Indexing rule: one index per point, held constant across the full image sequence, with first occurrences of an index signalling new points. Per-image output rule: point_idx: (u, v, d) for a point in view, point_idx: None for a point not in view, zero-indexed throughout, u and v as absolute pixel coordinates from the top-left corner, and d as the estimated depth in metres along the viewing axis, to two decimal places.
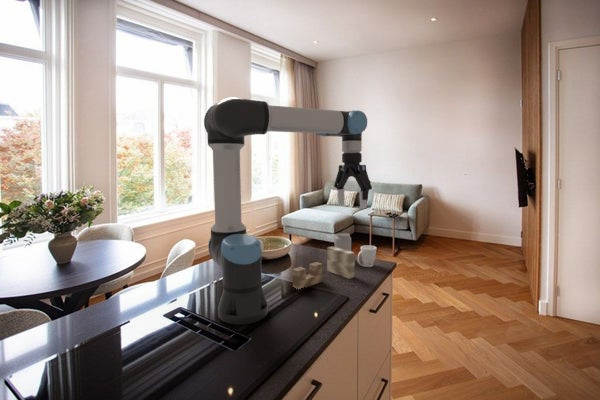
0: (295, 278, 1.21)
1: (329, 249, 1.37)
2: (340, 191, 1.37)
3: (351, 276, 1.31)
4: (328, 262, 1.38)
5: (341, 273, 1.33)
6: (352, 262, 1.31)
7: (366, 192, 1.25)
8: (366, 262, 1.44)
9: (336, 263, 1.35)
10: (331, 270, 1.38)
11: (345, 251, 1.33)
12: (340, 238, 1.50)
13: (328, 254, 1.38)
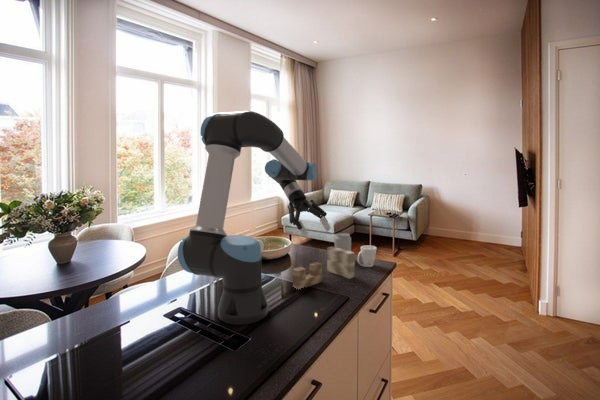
0: (295, 278, 1.21)
1: (329, 249, 1.37)
2: None
3: (351, 276, 1.31)
4: (328, 262, 1.38)
5: (341, 273, 1.33)
6: (352, 262, 1.31)
7: None
8: (366, 262, 1.44)
9: (336, 263, 1.35)
10: (331, 270, 1.38)
11: (345, 251, 1.33)
12: (340, 238, 1.50)
13: (328, 254, 1.38)
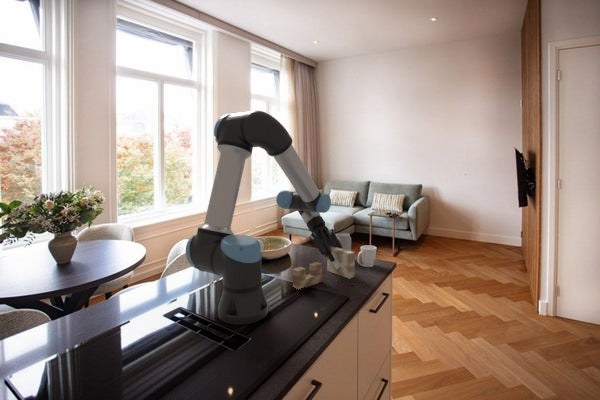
0: (295, 278, 1.21)
1: None
2: None
3: (351, 276, 1.31)
4: (328, 262, 1.38)
5: (341, 273, 1.33)
6: (352, 262, 1.31)
7: None
8: (366, 262, 1.44)
9: None
10: (331, 270, 1.37)
11: (345, 251, 1.32)
12: (340, 238, 1.50)
13: None
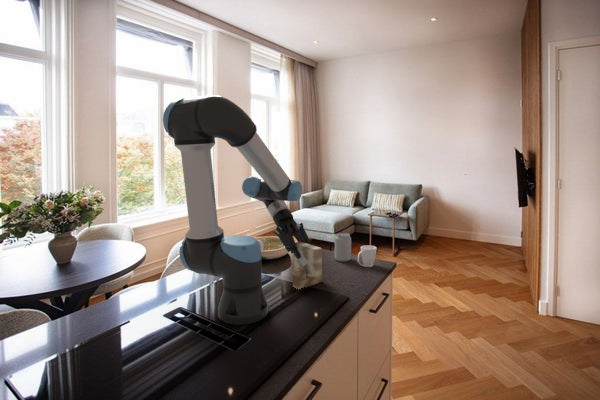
0: (295, 278, 1.21)
1: None
2: None
3: (318, 274, 1.20)
4: (295, 259, 1.27)
5: (308, 271, 1.22)
6: (319, 259, 1.19)
7: None
8: (366, 262, 1.44)
9: None
10: None
11: (312, 247, 1.21)
12: (340, 238, 1.50)
13: None
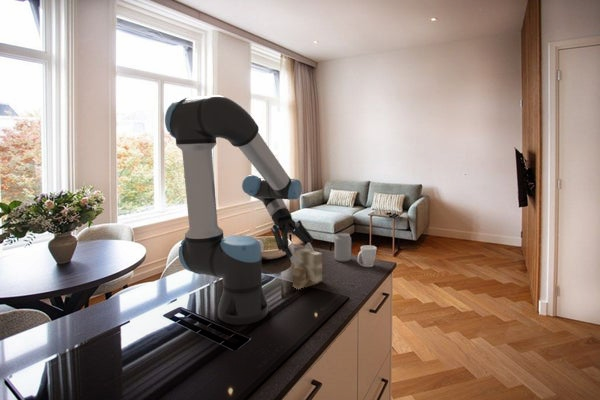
0: (295, 278, 1.21)
1: (296, 250, 1.26)
2: None
3: (318, 279, 1.20)
4: None
5: (308, 276, 1.22)
6: (319, 264, 1.19)
7: None
8: (366, 262, 1.44)
9: (303, 265, 1.23)
10: None
11: (312, 252, 1.21)
12: (340, 238, 1.50)
13: None
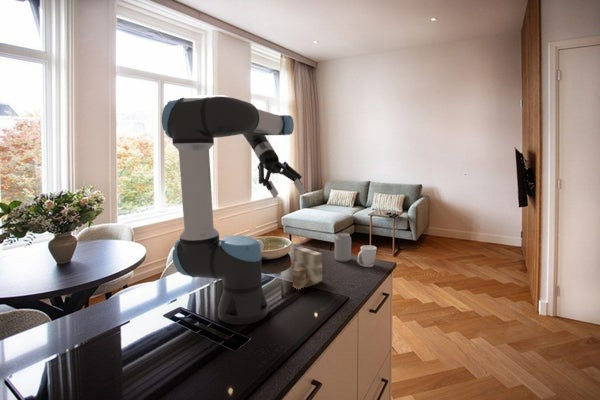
0: (295, 278, 1.21)
1: (296, 250, 1.26)
2: None
3: (318, 279, 1.20)
4: (295, 264, 1.27)
5: (308, 276, 1.22)
6: (319, 264, 1.19)
7: None
8: (366, 262, 1.44)
9: (303, 265, 1.23)
10: None
11: (312, 252, 1.21)
12: (340, 238, 1.50)
13: (295, 255, 1.27)
